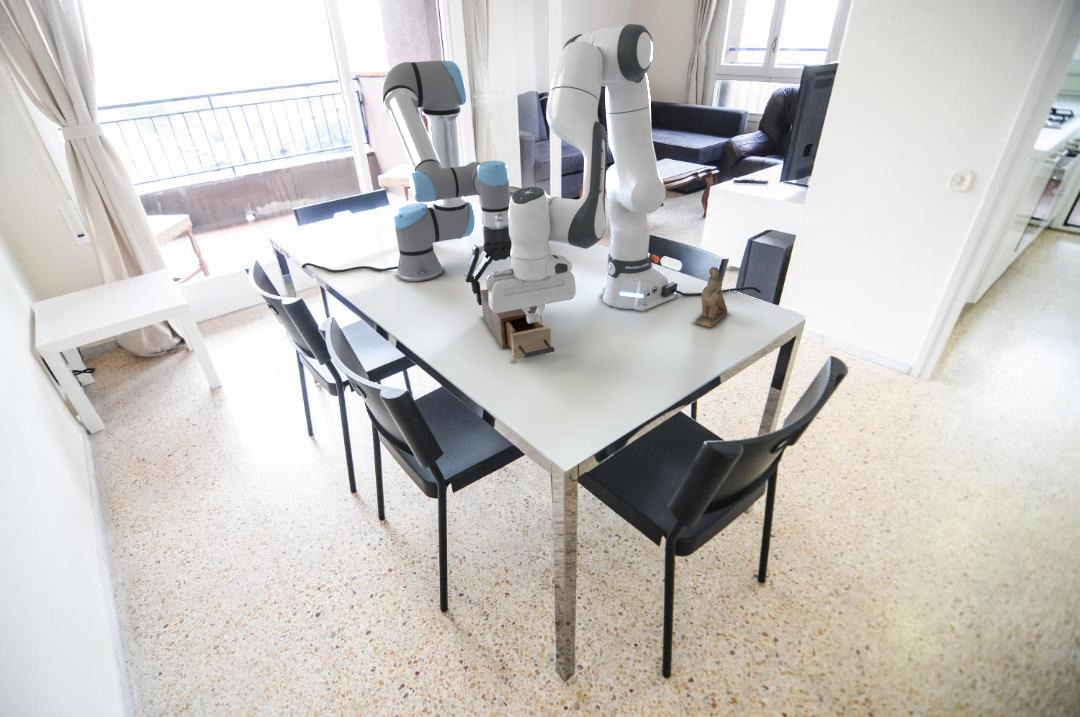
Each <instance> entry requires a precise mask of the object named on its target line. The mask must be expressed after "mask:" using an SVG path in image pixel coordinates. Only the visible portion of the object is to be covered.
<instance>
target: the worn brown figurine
mask: <svg viewBox="0 0 1080 717" xmlns="http://www.w3.org/2000/svg"><path fill="white" fill-rule="evenodd" d="M708 273H709V275H710V276H709V278H708V279H707V280H708V281H707V284H706V286H705V287H704V288H703V290H702V292H701V293H702V295H701V297H700V298H701V309H702V312H701V315H700V316H699V317H698V318H697V319H696V321H695V324H696V325H699V326H703V327H705V328H712V327H714V326H715V325H716V324H717V323H719V321H721V320H722V319H723V318H725V317H726V316H727V315H728V307H727V304H726V301H725V298H724V293H722V290H723V289H722V287H723V281H722V279H721V278H720V270H719V269H718V268H717V267H715V266H712V267H711V268H710V269H709V270H708Z"/></svg>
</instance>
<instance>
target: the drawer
mask: <svg viewBox="0 0 1080 717" xmlns="http://www.w3.org/2000/svg"><path fill="white" fill-rule="evenodd" d="M504 330H505V340H506V342H507V343H508V345H509V346H510V347H509V348H510V349H511V355H512V359H513V361H516V360H520V359H527V358H532V357H536V356H542V355H547V354H550V353H554V352H555V347H554V346H552V339H551V338H552V336H551V327H550V326H549V325H547V326H544V324H543V322H542V320H541V321H540V322H535V323H530V324H528V322H527V319H526V317H523V318H518V319H513V320H508V321H504Z"/></svg>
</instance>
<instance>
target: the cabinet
mask: <svg viewBox="0 0 1080 717" xmlns="http://www.w3.org/2000/svg"><path fill="white" fill-rule="evenodd" d="M480 290H481V300H482V305H481V306H482V318H483V319H484V321H485V323H486V324H487V327H489V329H490V331H491V332H492V334H493V335H494V337H495V340H497V342H498V344H499V345H500V347H501V348H502V349H507V348H510V346H509V345H508V343H507V342H506V340H505V330H504V321H508V320H513V319H518V318H523V317H526V314H525V313H524V311H523V310H522V309H517V310H512V311H507V312H501V313H495V312H493V311H492V310H491V309H490V307H489V301H488V295H489V291H488V289H487V288H485V289H480ZM537 308H538V307H537V306H533V307H530V311H527V312H528V313H529V314H531V313H535V312H536V310H537ZM540 318H541V319H542V314H541V315H540Z"/></svg>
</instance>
